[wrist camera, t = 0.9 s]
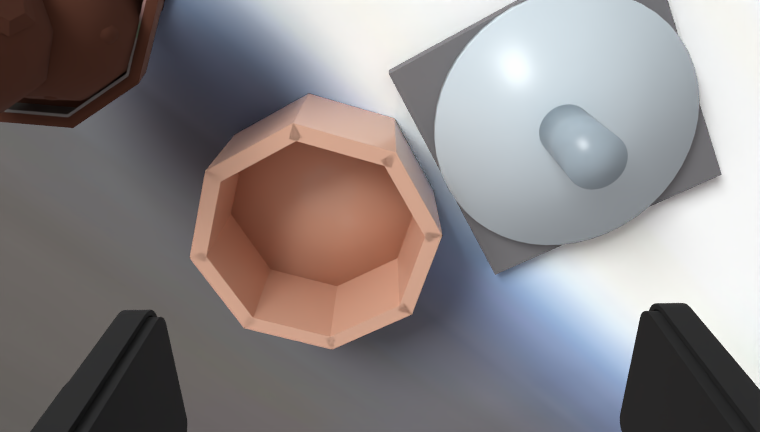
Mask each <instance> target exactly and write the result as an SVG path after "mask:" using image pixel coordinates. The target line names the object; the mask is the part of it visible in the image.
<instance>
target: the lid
mask: <svg viewBox="0 0 760 432" xmlns="http://www.w3.org/2000/svg"><path fill="white" fill-rule="evenodd" d="M698 115H699V88H698V80H697V76H696V72H695V67H694V65H693V62H692V59H691V57H690V54H689V52H688V50H687V48H686V47H685V45H684V43H683V42H682V40H681V38H680V37H679V35H678V34H677V33H676V32H675V31H674V29H673V28H672V27H671V26H670V25H669V24H668V23H667V22H666V21H665V20H664V19H663V18H662V17H660V16H659V15H658V14H657V13H656V12H654V11H652V10H651V9H649V8H648V7H646V6H644V5H643V4H641V3H639V2H636V1H634V0H526V1H524V2H522V3H520V4H517V5H515V6H513V7H511V8H509V9H508V10H506V11H505V12H503V13H502V14H500V15H498V16H497V17H495V18H494V19H493V20H491V21H490V22H489V23H488V24H487V25H485V26H484V27H483V28H482V29H480V30H479V32H478V33H477V34H476V35H475V36H474V37H473V38H472V39H471V40H470V41H469V42H468V43H467V44H466V46H465V47H464V48H463V50H462V51H461V52H460V54H459V55H458V56H457V58H456V59H455V61H454V63H453V65H452V66H451V68H450V70H449V72H448V73H447V76H446V78H445V81H444V83H443V85H442V88H441V91H440V94H439V98H438V102H437V105H436V112H435V119H434V142H435V149H436V155H437V159H438V163H439V166H440V170H441V173H442V176H443V178H444V180H445V182H446V185H447V187H448V189H449V190H450V192H451V193H452V195H453V197H454V198H455V200H456V201H457V202H458V203H459V205H460V206H461V207H462V208H463V209H464V211H465V212H466V213H468V214H469V215H470V216H471V217H472V218H473V219H474V220H475V221H477V222H478V223H480V224H481V225H483V226H484V227H486V228H487V229H489V230H491V231H493V232H495V233H497V234H499V235H501V236H503V237H506V238H509V239H512V240H515V241H519V242H524V243H529V244H538V245H563V244H570V243H576V242H581V241H584V240H588V239H592V238H595V237H598V236H600V235H603V234H606V233H608V232H610V231H612V230H614V229H616V228H618V227H620V226H622V225H624V224H625V223H627V222H628V221H630V220H632V219H633V218H635V217H636V216H638V215H639V214H640V213H641V212H643V211H644V210H645V209H646V208H648V207H649V206H650V205H651V204H652V203H653V202H654V201H655V200H656V199H657V198H658V197H659V196H660V195H661V194H662V193H663V192H664V190H665V189H666V188H667V187H668V185H669V184H670V183H671V182H672V180H673V179H674V177H675V176H676V174H677V173H678V171H679V170H680V168H681V166H682V165H683V163H684V160H685V158H686V156H687V154H688V152H689V150H690V147H691V144H692V141H693V138H694V135H695V131H696V126H697V121H698Z"/></svg>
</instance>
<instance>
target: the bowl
mask: <svg viewBox="0 0 760 432" xmlns="http://www.w3.org/2000/svg"><path fill="white" fill-rule="evenodd" d="M441 237H442V231H441V226H440V221H439V216H438V211H437V206H436V201H435V196H434V191H433V189H432V187H431V185H430V183H429V182H428V180H427V178H426V176H425V174H424V172H423V171H422V169H421V167H420V165H419V163H418V161H417V159H416V158H415V156H414V154H413V152H412V150H411V148H410V147H409V145H408V143H407V141H406V139H405V137H404V135H403V134H402V132H401V130H400V128H399V126H398V124H397V123H396V121H395V119H394V118H391V117H388V116H384V115H381V114H377V113H374V112H371V111H367V110H364V109H360V108H357V107H354V106H350V105H347V104H343V103H340V102H337V101H333V100H330V99H326V98H323V97H319V96H316V95H313V94H307V95H305V96H303V97H301V98H300V99H298V100H296V101H294V102H292V103H291V104H289V105H287V106H285V107H283V108H282V109H280V110H278V111H276V112H274V113H273V114H271V115H269V116H267V117H265V118H264V119H262V120H260V121H258V122H256V123H255V124H253V125H251V126H249V127H247V128H246V129H244V130H242V131H240V132H238V133H237V134H235V135H234V136H233V137H232V139H231V140H230V141H229V142H228V143H227V145H226V146H225V147H224V148H223V150H222V151H221V152H220V153H219V155H218V156H217V157H216V158H215V159H214V161H213V162H212V163H211V164H210V166H209V167H208V168H207V169H206V170H205V175H204V181H203V186H202V192H201V198H200V203H199V209H198V214H197V220H196V226H195V231H194V237H193V243H192V248H191V254H190V259H191V260H192V261H193V263H194V264H195V265H196V267H197V268H198V269H199V271H200V272H201V273H202V274H203V276H204V277H205V278H206V280H207V281H208V282H209V283H210V285H211V286H212V287H213V289H214V290H215V291H216V292H217V294H218V295H219V296H220V298H221V299H222V300H223V301H224V303H225V304H226V305H227V307H228V308H229V309H230V310H231V312H232V313H233V314H234V316H235V317H236V318H237V319H238V321H239V322H240V323H241V325H242V326H243V327H244V328H246V329H250V330H254V331H258V332H262V333H266V334H271V335H275V336H279V337H283V338H287V339H291V340H295V341H299V342H304V343H308V344H312V345H316V346H320V347H324V348H328V349H332V350H333V349H334V348H337V347H339V346H341V345H344V344H346V343H348V342H350V341H353V340H355V339H357V338H359V337H362V336H364V335H366V334H368V333H371V332H373V331H375V330H377V329H380V328H382V327H384V326H387V325H389V324H391V323H393V322H396V321H398V320H400V319H402V318H405V317H407V316H409V315H411V314H412V313H413V310H414V307H415V305H416V302H417V300H418V297H419V294H420V292H421V289H422V287H423V284H424V281H425V279H426V276H427V274H428V271H429V268H430V266H431V263H432V261H433V258H434V256H435V253H436V250H437V248H438V245H439V243H440V240H441Z"/></svg>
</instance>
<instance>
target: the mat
mask: <svg viewBox="0 0 760 432" xmlns="http://www.w3.org/2000/svg"><path fill="white" fill-rule="evenodd" d="M524 1H526V0H517V1H515V2H513V3H511V4H509V5H508V6H506V7H504V8H502V9H500V10H498V11H497V12H495V13H493V14H491V15H489V16H488V17H486V18H484V19H482V20H480V21H478V22H477V23H475V24H473V25H471V26H469V27H467V28H466V29H464V30H462V31H460V32H458V33H456V34H455V35H453V36H451V37H449V38H447V39H445V40H444V41H442V42H440V43H438V44H436V45H434V46H433V47H431V48H429V49H427V50H425V51H423V52H422V53H420V54H418V55H416V56H414V57H412V58H411V59H409V60H407V61H405V62H403V63H401V64H400V65H398V66H396V67H394V68H392V69H390V70H389V75H390V77H391V79H392V80H393V82H394V84H395V86H396V88H397V90H398V92H399V94H400V96H401V97H402V99H403V101H404V103H405V105H406V107H407V109H408V111H409V113H410V114H411V116H412V118H413V120H414V122H415V124H416V126H417V128H418V130H419V131H420V133H421V135H422V137H423V139H424V141H425V143H426V145H427V147H428V148H429V150H430V152H431V154H432V156H433V158H434V160H435V162H436V164H437V166H438V167H439V169H440V166H439V163H438V159H437V155H436V149H435V142H434V119H435V112H436V105H437V102H438V98H439V94H440V91H441V88H442V85H443V83H444V81H445V78H446V76H447V73H448V72H449V70H450V68H451V66H452V65H453V63H454V61H455V59H456V58H457V56H458V55H459V54H460V52H461V51H462V50H463V48H464V47H465V46H466V44H467V43H468V42H469V41H470V40H471V39H472V38H473V37H474V36H475V35H476V34H477V33H478V32H479V30H480V29H482V28H483V27H484V26H485V25H487V24H488V23H489V22H490V21H491V20H493V19H494V18H495V17H497V16H498V15H500V14H502V13H503V12H505V11H506V10H508V9H509V8H511V7H513V6H515V5H517V4H520V3H522V2H524ZM634 1H636V2H639V3H641V4H643V5H644V6H646V7H648V8H649V9H651V10H652V11H654V12H656V13H657V14H658V15H659V16H660V17H662V18H663V19H664V20H665V21H666V22H667V23H668V24H669V25H670V26H671V27H672V28H673V29H674V31H675V32H676V33H677V30H676V26H675V23H674V20H673V17H672V14H671V10H670V7H669V4H668V1H667V0H634ZM677 34H678V33H677ZM440 171H441V170H440ZM719 175H721V171H720V168H719V165H718V162H717V158H716V155H715V152H714V149H713V146H712V142H711V139H710V136H709V133H708V129H707V126H706V123H705V120H704V117H703V113H702V110H701V107H700V104H699V115H698V121H697V126H696V131H695V135H694V138H693V141H692V144H691V147H690V150H689V152H688V154H687V156H686V158H685V160H684V163H683V165H682V166H681V168H680V170H679V171H678V173H677V174H676V176H675V177H674V179H673V180H672V182H671V183H670V184H669V185H668V187H667V188H666V189H665V190H664V192H663V193H662V194H661V195H660V196H659V197H658V198H657V199H656V200H655V201H654V202H653V203H652V204H651V205H650V206H652V205H654V204H656V203H658V202H661V201H663V200H665V199H667V198H670V197H672V196H674V195H676V194H679V193H681V192H683V191H685V190H688V189H690V188H692V187H694V186H697V185H699V184H701V183H703V182H706V181H708V180H710V179H713V178H715V177H717V176H719ZM457 203H458V202H457ZM458 205H459V203H458ZM459 207H460V209H461V211H462V213H463V215H464V217H465V218H466V220H467V222H468V224H469V226H470V228H471V230H472V232H473V234H474V235H475V237H476V239H477V241H478V243H479V245H480V247H481V249H482V251H483V253H484V254H485V256H486V258H487V260H488V262H489V264H490V266H491V268H492V270H493V271H494V273H495V275H496V274H498V273H500V272H502V271H505V270H507V269H509V268H511V267H514V266H516V265H518V264H520V263H523V262H525V261H527V260H529V259H532V258H534V257H536V256H539V255H541V254H543V253H545V252H548V251H550V250H552V249H554V248H557V247H559V246H561V245H538V244H529V243H524V242H519V241H515V240H512V239H509V238H506V237H503V236H501V235H499V234H497V233H495V232H493V231H491V230H489V229H487V228H486V227H484V226H483V225H481V224H480V223H478V222H477V221H475V220H474V219H473V218H472V217H471V216H470V215H469V214H468V213H466V212H465V211H464V209H463V208H462V207H461V206H460V205H459Z"/></svg>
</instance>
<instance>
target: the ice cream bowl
mask: <svg viewBox="0 0 760 432" xmlns="http://www.w3.org/2000/svg"><path fill="white" fill-rule="evenodd" d="M164 1H165V0H0V122H9V123H21V124H33V125H45V126H57V127H69V128H74V127H75V126H77V125H78V124H80V123H81V122H82V121H84V120H85V119H87V118H88V117H90V116H91V115H93V114H94V113H96V112H97V111H99V110H100V109H102V108H103V107H105V106H106V105H108V104H109V103H110V102H112V101H113V100H115V99H116V98H118V97H119V96H121V95H122V94H124V93H125V92H127V91H128V90H130V89H131V88H133V87H134V86H136V85H137V84H138V83H139V82H140V80H141V79H142V77H143V76H144V74H145V73H146V70H147V66H148V62H149V58H150V54H151V50H152V46H153V42H154V38H155V33H156V29H157V25H158V21H159V17H160V13H161V11H162V9H163V5H164Z"/></svg>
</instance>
